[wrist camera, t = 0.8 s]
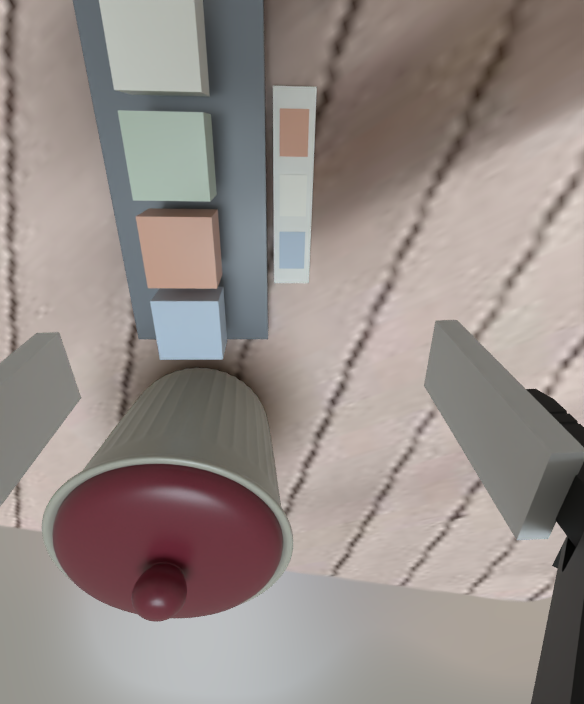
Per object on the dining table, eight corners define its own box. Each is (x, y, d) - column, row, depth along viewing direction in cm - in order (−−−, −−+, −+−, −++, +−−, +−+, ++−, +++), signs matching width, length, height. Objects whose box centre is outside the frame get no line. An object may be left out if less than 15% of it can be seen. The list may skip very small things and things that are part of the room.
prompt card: (273, 86, 29) (272, 85, 28) (316, 87, 29) (316, 86, 29) (273, 281, 36) (274, 283, 36) (308, 281, 36) (308, 283, 36)
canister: (309, 363, 41) (336, 551, 22) (263, 482, 49) (255, 691, 31) (131, 318, 38) (-8, 495, 19) (114, 453, 46) (5, 668, 28)
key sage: (134, 112, 26) (117, 110, 23) (210, 114, 26) (203, 112, 23) (146, 193, 28) (132, 200, 25) (216, 194, 28) (210, 201, 26)
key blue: (161, 286, 32) (149, 301, 29) (223, 286, 32) (218, 301, 29) (169, 341, 34) (160, 359, 31) (227, 341, 34) (222, 359, 32)
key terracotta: (149, 208, 29) (135, 216, 26) (217, 209, 29) (211, 217, 26) (159, 274, 31) (147, 288, 28) (222, 274, 31) (217, 288, 29)
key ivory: (116, -8, 23) (94, -27, 20) (202, -5, 23) (192, -24, 20) (131, 94, 25) (114, 90, 23) (209, 96, 26) (201, 92, 23)
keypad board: (82, -9, 26) (51, -32, 22) (263, -3, 27) (261, -25, 23) (145, 329, 38) (131, 350, 35) (268, 329, 39) (267, 350, 35)
